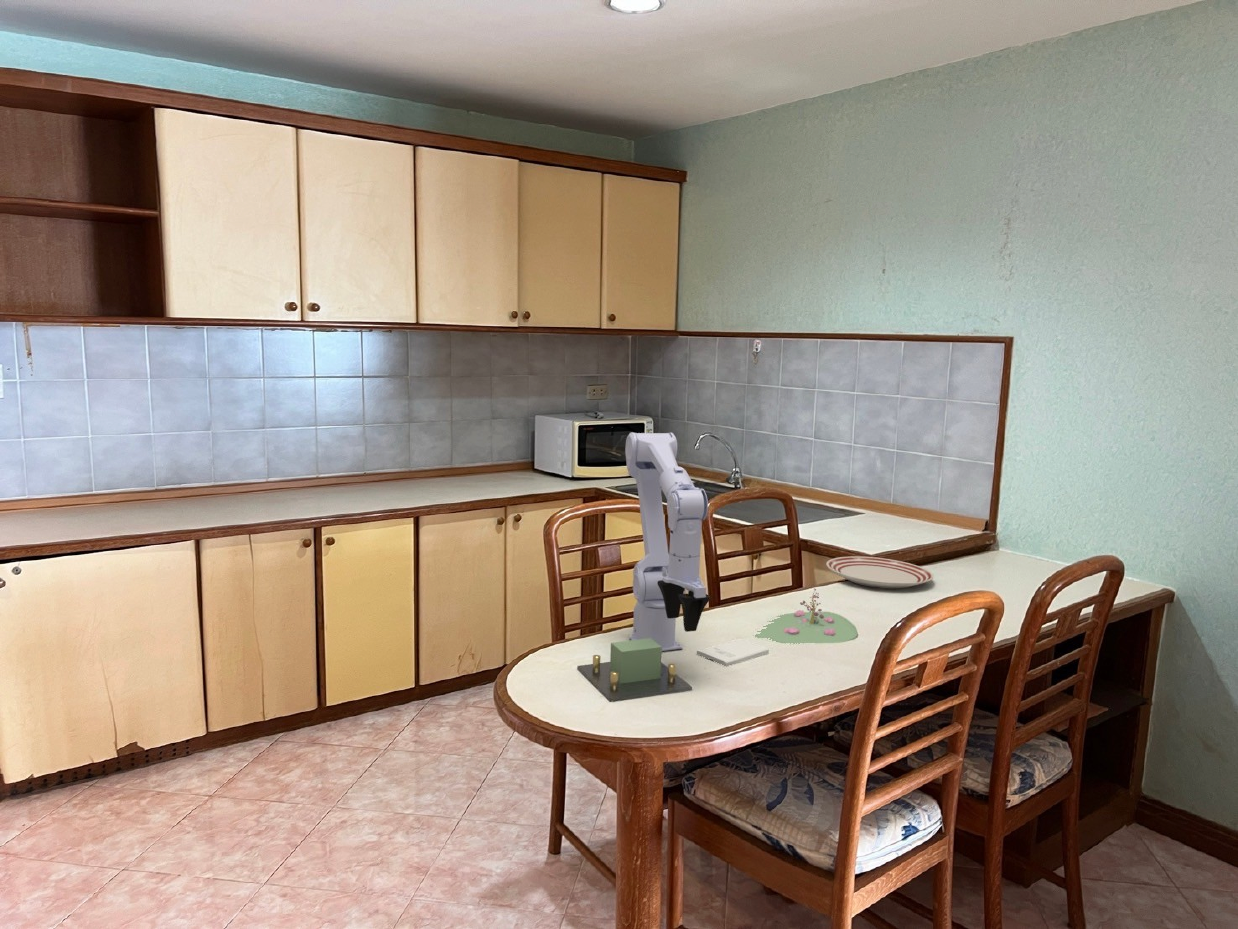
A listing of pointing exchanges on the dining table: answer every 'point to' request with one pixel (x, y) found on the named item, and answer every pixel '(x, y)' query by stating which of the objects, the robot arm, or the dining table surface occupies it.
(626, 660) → the board block
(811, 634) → the plant
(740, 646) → the external hard drive
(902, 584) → the dinner plate
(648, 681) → the chassis
